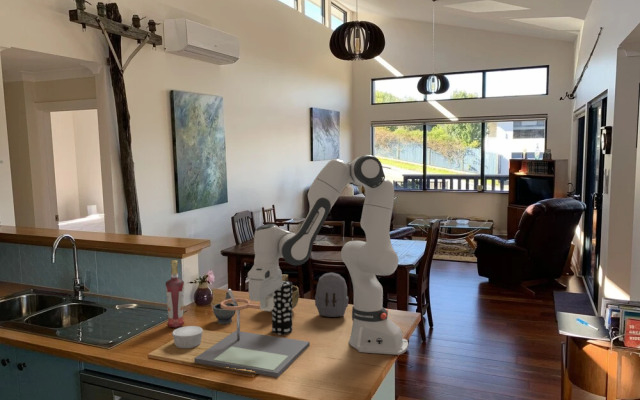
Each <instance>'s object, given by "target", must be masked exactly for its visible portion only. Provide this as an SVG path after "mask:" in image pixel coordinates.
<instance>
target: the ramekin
mask: <svg viewBox="0 0 640 400" xmlns="http://www.w3.org/2000/svg"><path fill="white" fill-rule="evenodd" d="M203 333H204V329H203V328H202V327H200V326H196V325H187V326H181V327H179V328H174V330H173V331H172V337H173V342H174V345H175V347H176V348H178V349H192V348H195V347H198V346H199V345H200V344H201V342H202V336H203Z"/></svg>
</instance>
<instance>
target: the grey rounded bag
mask: <svg viewBox="0 0 640 400" xmlns="http://www.w3.org/2000/svg"><path fill="white" fill-rule="evenodd" d="M315 293H316V294H315V296H314V301H315V304H314V305H315V307H316V308H317V309H316V310H317V311H318V315H320V316H324V317H329V318H339V317H343V316H345V313H346V310H347V307H348V306H349V296H348V287H347V283H346V279H345V278H344V277H343V276H341V274H339V273H336V272H326V273H323V274H322V275H321V276H320V277H319V278H318V282H317V285H316V292H315Z"/></svg>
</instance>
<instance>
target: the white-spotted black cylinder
mask: <svg viewBox="0 0 640 400" xmlns="http://www.w3.org/2000/svg"><path fill="white" fill-rule="evenodd" d="M292 285H293V282H292V281H289V280H288V281H282V287H281V288H279V289H278V290H276V291H274V296H273V297H274V309H273V310H272V312H271V332H272V333H273V334H274V335H279V336H283V335H285V336H286V335H290V334H291V333H293V309H292Z"/></svg>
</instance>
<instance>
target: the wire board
mask: <svg viewBox="0 0 640 400" xmlns="http://www.w3.org/2000/svg"><path fill="white" fill-rule="evenodd" d="M310 345H311V344H310V341H307V340H301V339H294V338H288V337H281V336H273V335H267V334H261V333H254V332H247V331H241V330H240V340H239V341H238V340H237V330H235V331H233V332H231V333H230V334H229V335H227V336H226V337H224V338H222V339H220V341H218V342H216V343H215V344H214V345H212V346H210V347H209V348H207V349H206V350H204V351H203V352H202V353H200V354H199V355H197V356H196V357H194V363H195V364H196V363H197V364H201V365H209V366H212V365H213V366H214V367H218V366H219V367H218V368H223V367H229V368H236V369H246V370H252V371H255V372H256V373H255V374H256V375H262V376H269V377H274V378H279V377H280V376H281V375H283V373H284V372H285V371H286V370H287V369H288V368H289V367H290V366H291V365H292V364H293V363H294V362H295V361H296V360H297V359H298V358H299V357H300V356H301V355H302V354H303V353H304V352H305V351H306V350H307V349H308V347H310ZM213 366H212V367H213ZM229 368H228V369H229Z"/></svg>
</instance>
